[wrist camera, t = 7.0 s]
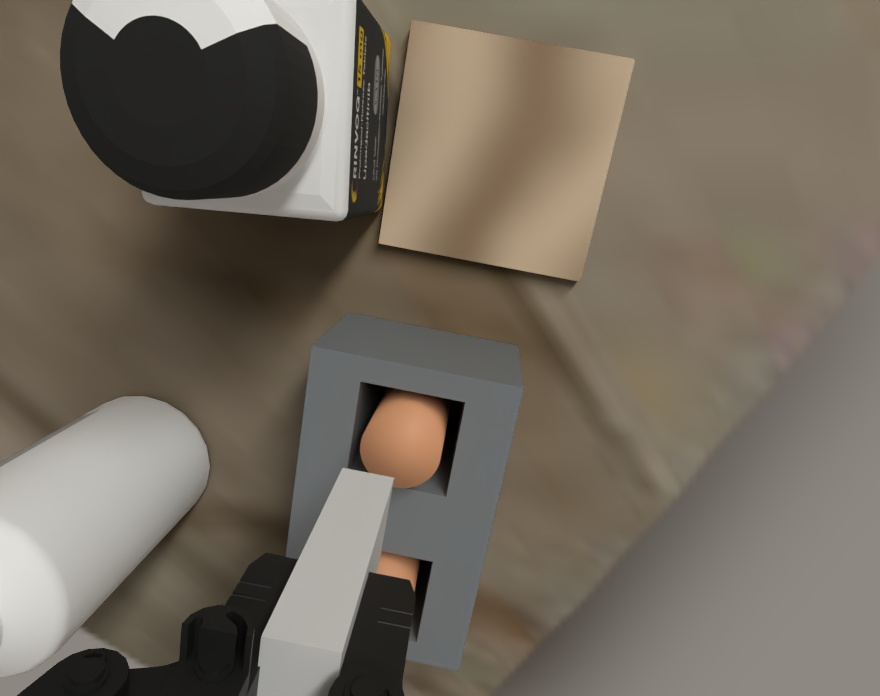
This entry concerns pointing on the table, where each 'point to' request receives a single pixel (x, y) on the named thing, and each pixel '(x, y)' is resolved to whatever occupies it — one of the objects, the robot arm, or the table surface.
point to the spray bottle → (88, 517)
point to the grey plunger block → (451, 486)
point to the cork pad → (502, 149)
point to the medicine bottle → (234, 101)
